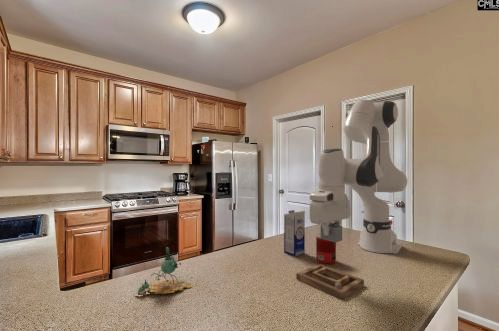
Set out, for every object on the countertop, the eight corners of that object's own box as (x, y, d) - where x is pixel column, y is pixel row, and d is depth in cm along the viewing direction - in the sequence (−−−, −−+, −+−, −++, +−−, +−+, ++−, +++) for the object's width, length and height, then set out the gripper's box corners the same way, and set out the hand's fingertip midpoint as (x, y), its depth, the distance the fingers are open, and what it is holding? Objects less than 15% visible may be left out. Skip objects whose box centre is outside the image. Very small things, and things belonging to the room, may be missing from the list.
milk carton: (294, 256, 110) (294, 212, 110) (283, 252, 115) (283, 210, 116) (304, 253, 115) (305, 210, 115) (293, 249, 120) (293, 208, 120)
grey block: (327, 236, 90) (327, 220, 90) (342, 240, 85) (342, 223, 86) (320, 238, 88) (320, 222, 88) (335, 242, 83) (335, 225, 83)
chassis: (319, 268, 97) (319, 261, 97) (363, 285, 83) (363, 276, 83) (296, 278, 88) (296, 270, 88) (341, 299, 75) (341, 289, 75)
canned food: (337, 265, 101) (337, 238, 101) (316, 263, 102) (316, 237, 102) (334, 258, 108) (334, 233, 108) (315, 257, 110) (315, 232, 110)
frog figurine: (137, 286, 83) (143, 241, 84) (192, 285, 87) (197, 243, 88) (131, 300, 74) (138, 250, 74) (193, 299, 78) (198, 252, 79)
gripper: (339, 192, 96) (339, 228, 95) (306, 195, 83) (306, 236, 83) (355, 193, 91) (355, 231, 91) (322, 196, 78) (322, 240, 78)
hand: (331, 233), depth 86 cm, fingers closed on grey block, 4 cm apart
